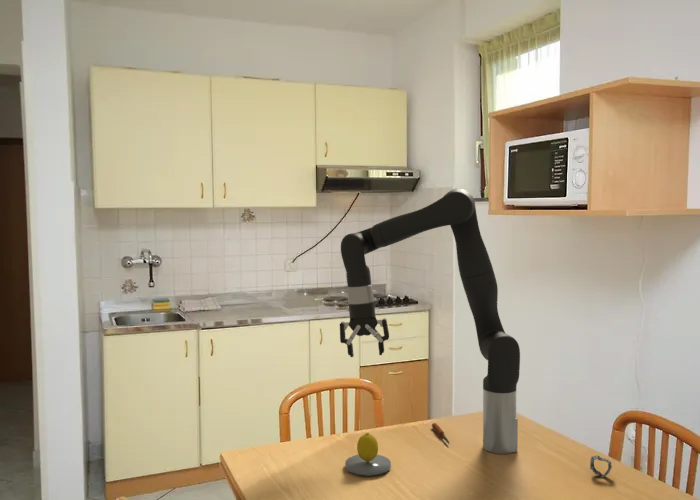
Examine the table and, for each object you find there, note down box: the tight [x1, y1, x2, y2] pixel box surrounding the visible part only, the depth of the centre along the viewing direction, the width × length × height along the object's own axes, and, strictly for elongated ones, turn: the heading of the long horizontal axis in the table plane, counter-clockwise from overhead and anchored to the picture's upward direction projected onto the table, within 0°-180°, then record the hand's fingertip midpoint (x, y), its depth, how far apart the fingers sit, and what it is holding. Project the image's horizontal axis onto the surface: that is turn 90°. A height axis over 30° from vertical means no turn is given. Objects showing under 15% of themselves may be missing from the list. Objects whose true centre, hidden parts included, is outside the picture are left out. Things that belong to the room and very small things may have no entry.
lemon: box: [356, 432, 379, 463], centre depth 164 cm, size 6×6×8 cm
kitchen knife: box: [431, 422, 450, 445], centre depth 186 cm, size 16×1×2 cm, turn 9°
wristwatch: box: [589, 455, 613, 479], centre depth 157 cm, size 3×5×5 cm, turn 55°
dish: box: [344, 454, 392, 477], centre depth 165 cm, size 12×12×2 cm
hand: (366, 355), depth 182 cm, fingers open, 8 cm apart
